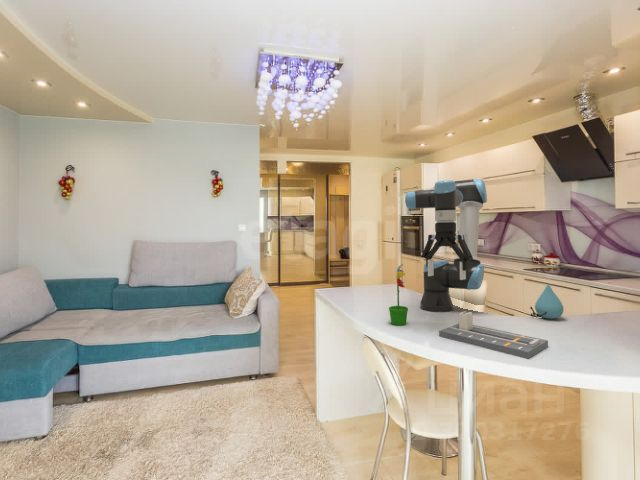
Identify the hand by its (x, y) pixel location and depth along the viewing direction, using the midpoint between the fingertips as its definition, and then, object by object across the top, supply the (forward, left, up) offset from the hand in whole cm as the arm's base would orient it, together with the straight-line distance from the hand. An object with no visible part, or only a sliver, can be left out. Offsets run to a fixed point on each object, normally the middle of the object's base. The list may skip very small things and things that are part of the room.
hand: (446, 277), depth 134 cm
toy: (-48, +18, -21) cm, 55 cm away
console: (-1, +16, -21) cm, 26 cm away
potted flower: (+4, -20, -21) cm, 29 cm away
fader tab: (-1, +7, -18) cm, 20 cm away
